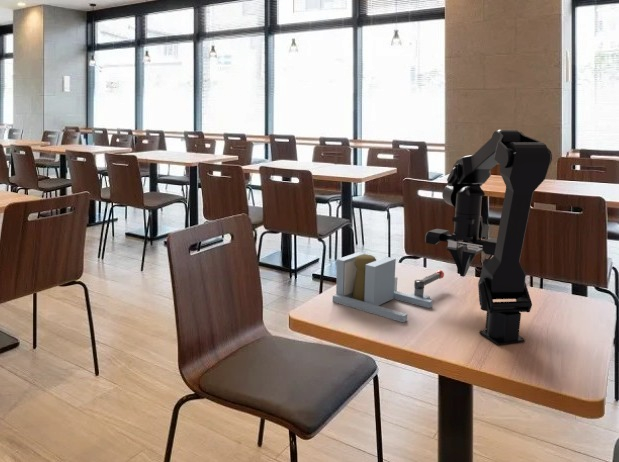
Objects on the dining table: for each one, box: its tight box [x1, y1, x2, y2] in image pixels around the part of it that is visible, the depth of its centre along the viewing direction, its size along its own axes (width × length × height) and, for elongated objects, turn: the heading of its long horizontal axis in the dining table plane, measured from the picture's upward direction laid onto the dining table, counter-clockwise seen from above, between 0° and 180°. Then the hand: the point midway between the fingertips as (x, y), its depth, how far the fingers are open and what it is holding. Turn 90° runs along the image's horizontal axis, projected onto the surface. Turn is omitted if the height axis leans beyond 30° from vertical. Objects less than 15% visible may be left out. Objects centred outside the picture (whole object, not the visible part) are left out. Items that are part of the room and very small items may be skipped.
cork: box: [351, 254, 377, 302], centre depth 129 cm, size 6×6×11 cm
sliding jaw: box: [364, 256, 397, 306], centre depth 126 cm, size 3×9×10 cm, turn 140°
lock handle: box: [413, 269, 445, 289], centre depth 134 cm, size 13×2×2 cm, turn 139°
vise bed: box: [332, 251, 433, 323], centre depth 128 cm, size 20×18×10 cm
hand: (462, 276), depth 129 cm, fingers closed
